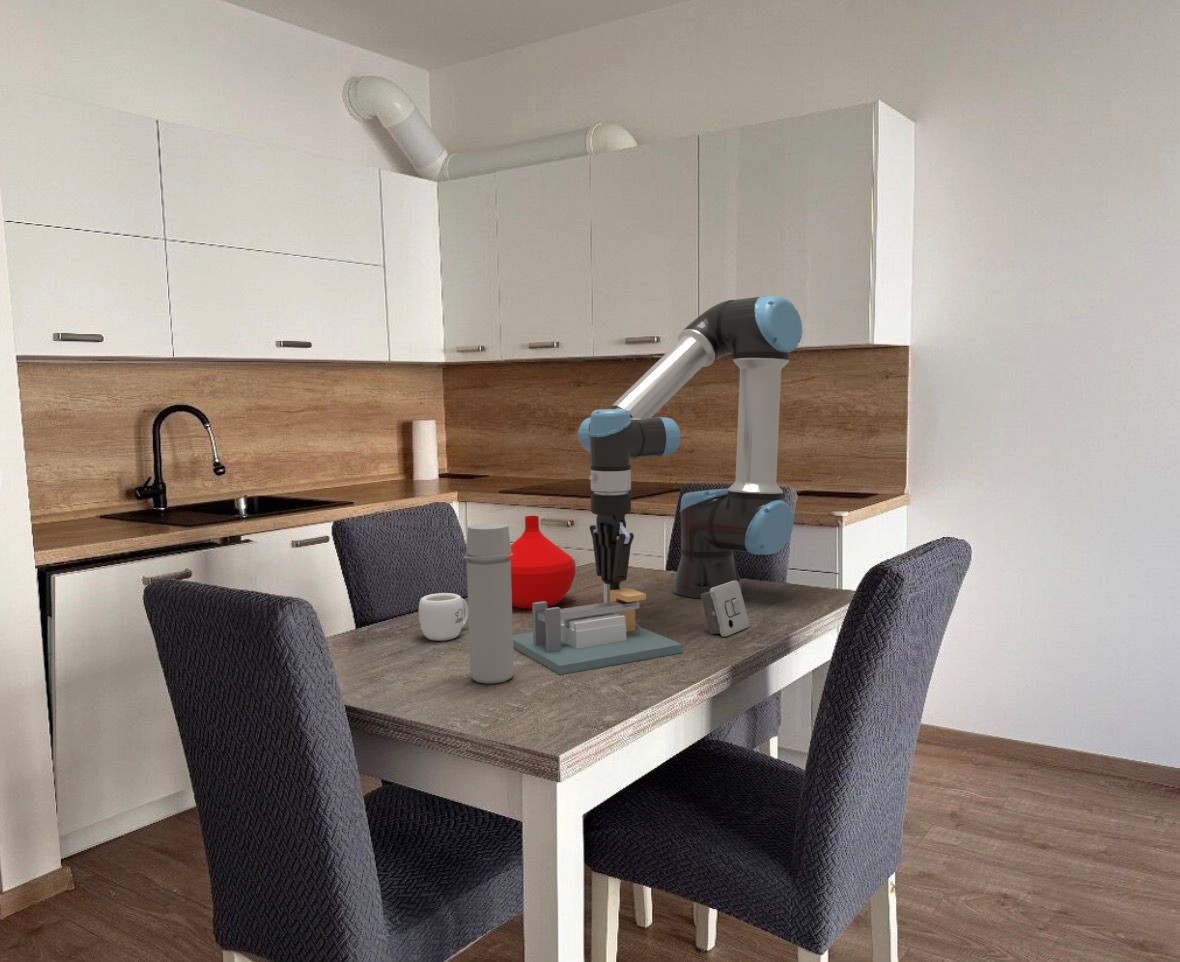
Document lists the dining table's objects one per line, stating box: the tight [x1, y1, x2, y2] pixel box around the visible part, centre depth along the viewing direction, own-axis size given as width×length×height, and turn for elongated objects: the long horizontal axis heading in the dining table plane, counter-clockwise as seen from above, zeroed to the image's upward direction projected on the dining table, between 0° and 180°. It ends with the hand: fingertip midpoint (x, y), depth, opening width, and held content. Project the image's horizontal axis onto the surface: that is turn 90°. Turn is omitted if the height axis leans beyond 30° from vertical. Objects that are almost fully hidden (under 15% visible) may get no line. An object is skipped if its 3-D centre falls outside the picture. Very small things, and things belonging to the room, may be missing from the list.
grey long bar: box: [537, 600, 640, 622], centre depth 172 cm, size 19×3×1 cm, turn 118°
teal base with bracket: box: [513, 601, 683, 675], centre depth 172 cm, size 24×22×9 cm
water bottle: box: [463, 522, 515, 685], centre depth 156 cm, size 9×8×25 cm
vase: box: [507, 515, 576, 610], centre depth 208 cm, size 18×18×19 cm
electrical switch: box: [700, 581, 750, 638], centre depth 183 cm, size 9×5×9 cm, turn 141°
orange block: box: [610, 587, 647, 632], centre depth 177 cm, size 4×6×8 cm, turn 28°
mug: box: [418, 592, 469, 642], centre depth 184 cm, size 12×8×8 cm
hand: (611, 615), depth 182 cm, fingers closed
